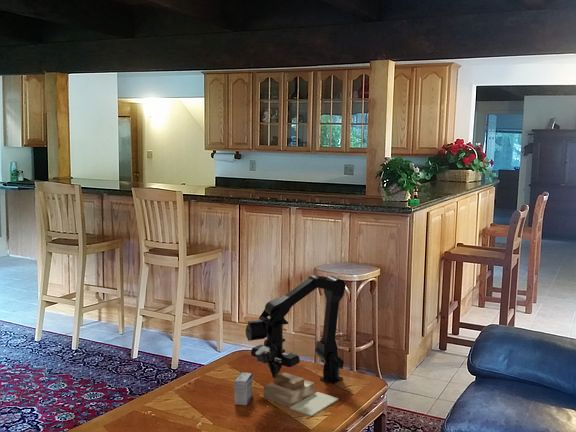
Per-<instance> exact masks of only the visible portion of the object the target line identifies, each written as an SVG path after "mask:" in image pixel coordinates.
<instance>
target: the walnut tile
mask: <svg viewBox="0 0 576 432" xmlns="http://www.w3.org/2000/svg"><path fill="white" fill-rule="evenodd" d="M304 380H305V378H303V377H300V376H298V375H293V374H291V373H288V372H285V371H284V372H282V373H280V374H278V376H276V377H274V378H273V382H274V384H275V385H278V386H281V387H284V388H287V389H290V390H293V391H295V390H297V389H298V388H300V387H302V386H304Z"/></svg>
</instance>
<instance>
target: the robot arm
mask: <svg viewBox="0 0 576 432" xmlns="http://www.w3.org/2000/svg"><path fill="white" fill-rule="evenodd" d="M316 289H323V292H324V293H323V294H324V297H325V300H326V302H325V310H324V311H325V312H324V321H323V328H322V329H323V331H322V337H321V339H320V340H316V344H315V345H316V347H315V349H314V351H315V352H316V356H317V357H318V358H319V359H320V361H321V362H322V363H324V364H323V371H322V372H323V373H322V375H323V376H322V377H320V379H319V380H320V381H322V382H326V383H328V384H333V385H335V384H336V383H339V382H341V381H342V380H343V379H344V377H342V376H340V374H341V373H340V368H343V367H344V364H345V362H344V360H343V359H342V358H341V357H340V356H339V351H338V350H339V349H338V344H337V340H336V337H337V335H336V334H337V327H338V325H337V324H338V317H339V306H340V302H341V301H342V298H343V297H344V295H345V291H346V282H344V280H343V279H341V278H338V277H337V276H334V275H329V276H323V275H322V276H320V275H315V274H312V275H309V276H308V278H307V279H305V280H304V281H303V282H301V283H299V284H298V285H297V286H295V287H294V288H293V289H291V290H290V291H289V292H288V293H286V294H284V295H283V296H279V297H276V298H274V299H272V300H269V301H268V302H267V303H266V304H265V306H264V310H262V312H261V314H260V316H259V317H258V320H248V321H247V325H246V327H245V337H246V339H247V341H248V342H251V341H258V340H264V341H263V344H259V345H256V346H253V347H252V348H251V350H250V356H252V357H255V358H256V361H257V362H261V363H263V364H267V367H268V368H269V371H270V373H271V377H272V378H273V379H274V377H276V376H278V375H280V374H279V373H280V372H281V369H282V367H283V366H284V367H287V368H293V367H294V366H296V365H299V364H300V359H301V358H300V356H299V355H298V354H295V353H292V352H290V353H288V354H285V353H286V349H284V342H286V338H284V336H283V335H284V329H283V328H284V325H288V324H289V321H287V319H286V318H285V317H286V316H287V314H288V313H289V312H290V311H291V308H292V307H293V306H294V305H296V304H297V303H298V302H300V301H301V300H303V299H304V298H305V297H307V296H308V295H309V294H311V293H312V292H314V291H315V290H316ZM268 317H269V318H268ZM265 338H266V339H265Z"/></svg>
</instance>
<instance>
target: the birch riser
mask: <svg viewBox="0 0 576 432" xmlns="http://www.w3.org/2000/svg"><path fill="white" fill-rule="evenodd" d="M313 394H315V382H313V381H311V380H307V379H304V386H302V387H300V388H298V389H297V390H295V391H293V390H290V389H287V388H284V387H281V386H278V385H275V384H274V381H273V382H270V383H269V384H267V385H264V386H263V399H267V400H269V401H272V402H275V403H278V404H281V405H284V406H286V407H289V408H290V407H292V406H293V405H295V404H297V403H299V402H300V401H302V400H304V399H306V398H308V397H309V396H311V395H313Z"/></svg>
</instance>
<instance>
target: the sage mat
mask: <svg viewBox="0 0 576 432" xmlns="http://www.w3.org/2000/svg"><path fill="white" fill-rule="evenodd" d="M338 401H339V398H338V397H335V396H332V395H329V394H325V393H324V392H319V391H316V392H314V394H312V395H310V396H309V397H307V398H305V399H303V400H302V401H300V402H298V403H296V404H295V405H293V406H291V407H289V408H290V410H293V411H296V412H298V413H301V414H304V415H307V416H310V417H313V416H315V415H316V414H318V413H319V412H321V411H323V410H325V409H326V408H328V407H329V406H331V405H333V404H334V403H336V402H338Z"/></svg>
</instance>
